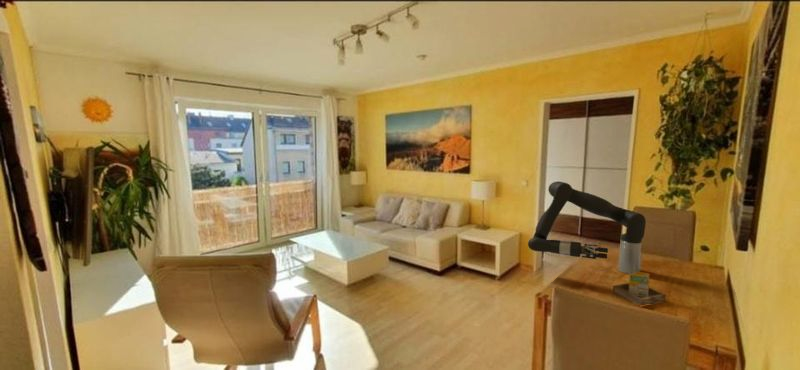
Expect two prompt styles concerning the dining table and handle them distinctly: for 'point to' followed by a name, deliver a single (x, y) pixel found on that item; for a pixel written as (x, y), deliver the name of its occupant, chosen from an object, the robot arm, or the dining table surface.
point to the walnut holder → (651, 299)
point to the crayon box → (639, 284)
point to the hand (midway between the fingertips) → (607, 253)
